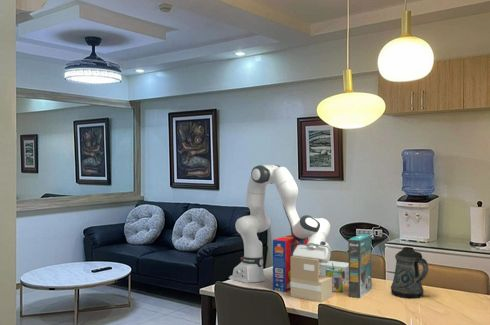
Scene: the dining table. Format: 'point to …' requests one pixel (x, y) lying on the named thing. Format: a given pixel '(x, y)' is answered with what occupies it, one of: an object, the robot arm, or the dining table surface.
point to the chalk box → (335, 278)
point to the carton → (312, 288)
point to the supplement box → (336, 265)
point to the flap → (305, 268)
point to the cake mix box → (359, 265)
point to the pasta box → (283, 261)
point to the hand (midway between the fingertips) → (306, 267)
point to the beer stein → (408, 274)
